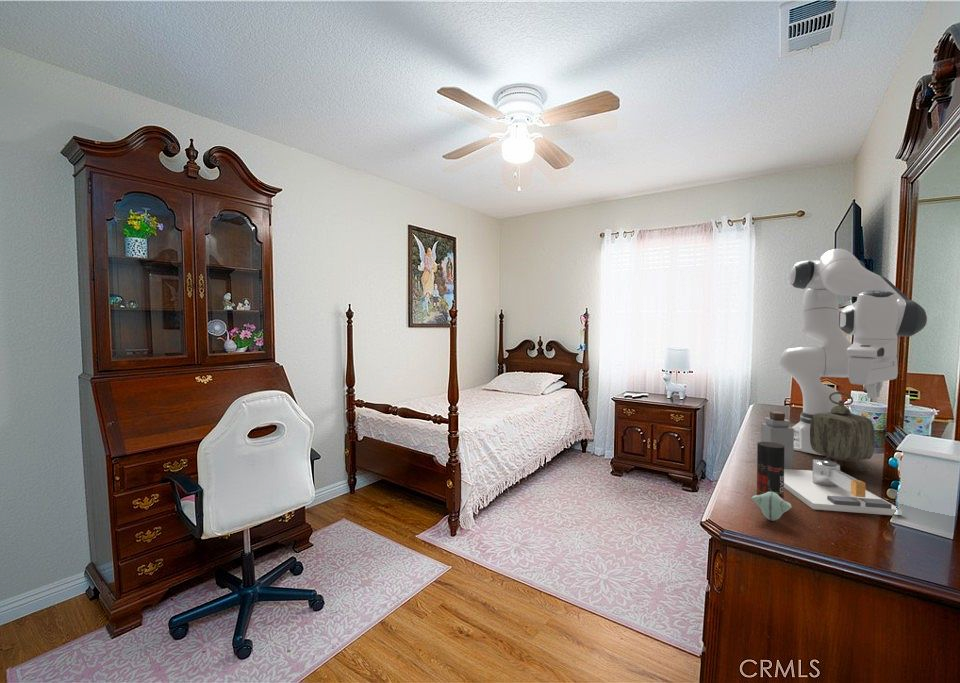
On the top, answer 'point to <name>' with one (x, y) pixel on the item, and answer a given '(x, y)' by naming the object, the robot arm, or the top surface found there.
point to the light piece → (836, 477)
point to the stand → (832, 495)
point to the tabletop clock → (842, 434)
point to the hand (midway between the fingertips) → (873, 397)
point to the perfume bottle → (779, 435)
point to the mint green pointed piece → (771, 505)
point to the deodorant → (770, 468)
